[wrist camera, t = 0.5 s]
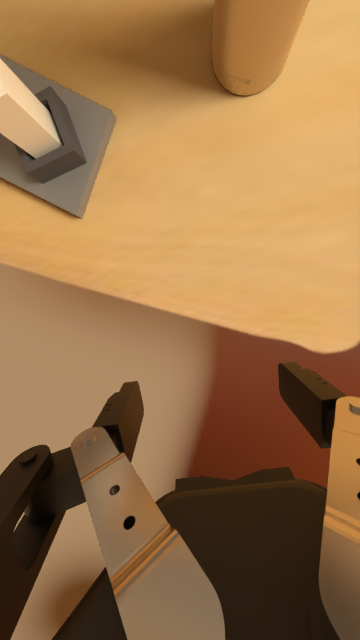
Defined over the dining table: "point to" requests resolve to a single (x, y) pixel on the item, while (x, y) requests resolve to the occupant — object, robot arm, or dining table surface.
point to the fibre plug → (25, 117)
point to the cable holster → (61, 157)
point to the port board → (93, 137)
